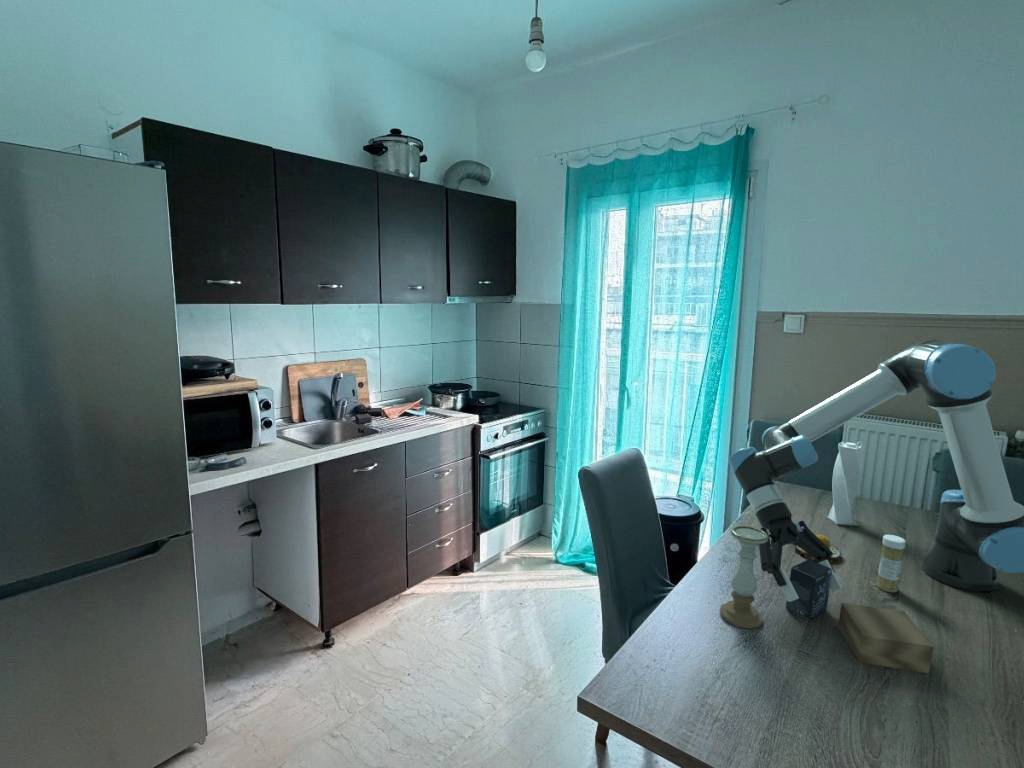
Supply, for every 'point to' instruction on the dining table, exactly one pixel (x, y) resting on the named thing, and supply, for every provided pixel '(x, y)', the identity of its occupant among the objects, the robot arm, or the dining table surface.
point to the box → (810, 588)
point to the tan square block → (885, 637)
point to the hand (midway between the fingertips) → (816, 595)
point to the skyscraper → (845, 483)
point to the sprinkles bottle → (890, 563)
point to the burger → (835, 551)
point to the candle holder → (744, 580)
